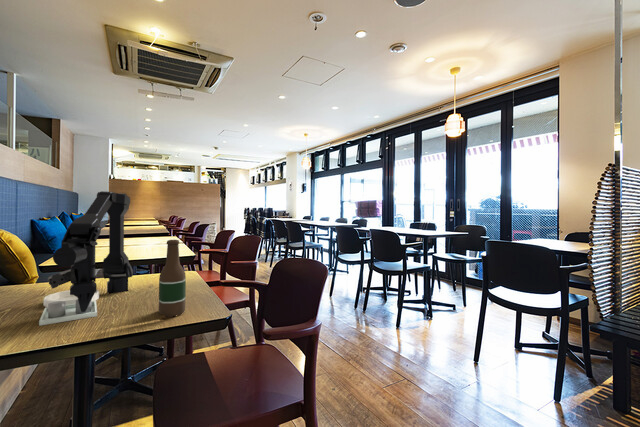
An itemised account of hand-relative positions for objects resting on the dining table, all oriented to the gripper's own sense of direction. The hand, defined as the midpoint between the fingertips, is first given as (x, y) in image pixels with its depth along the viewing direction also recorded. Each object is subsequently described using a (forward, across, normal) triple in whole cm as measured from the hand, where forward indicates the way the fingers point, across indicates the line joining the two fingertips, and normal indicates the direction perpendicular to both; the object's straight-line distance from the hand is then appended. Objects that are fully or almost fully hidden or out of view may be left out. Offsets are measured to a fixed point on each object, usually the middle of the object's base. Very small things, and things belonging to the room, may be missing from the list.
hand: (83, 309), depth 95 cm
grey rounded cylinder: (+1, 0, 0) cm, 1 cm away
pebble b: (+1, 0, -6) cm, 6 cm away
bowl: (+1, -16, -3) cm, 17 cm away
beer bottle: (+2, +15, +23) cm, 27 cm away
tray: (+1, 0, -3) cm, 3 cm away
